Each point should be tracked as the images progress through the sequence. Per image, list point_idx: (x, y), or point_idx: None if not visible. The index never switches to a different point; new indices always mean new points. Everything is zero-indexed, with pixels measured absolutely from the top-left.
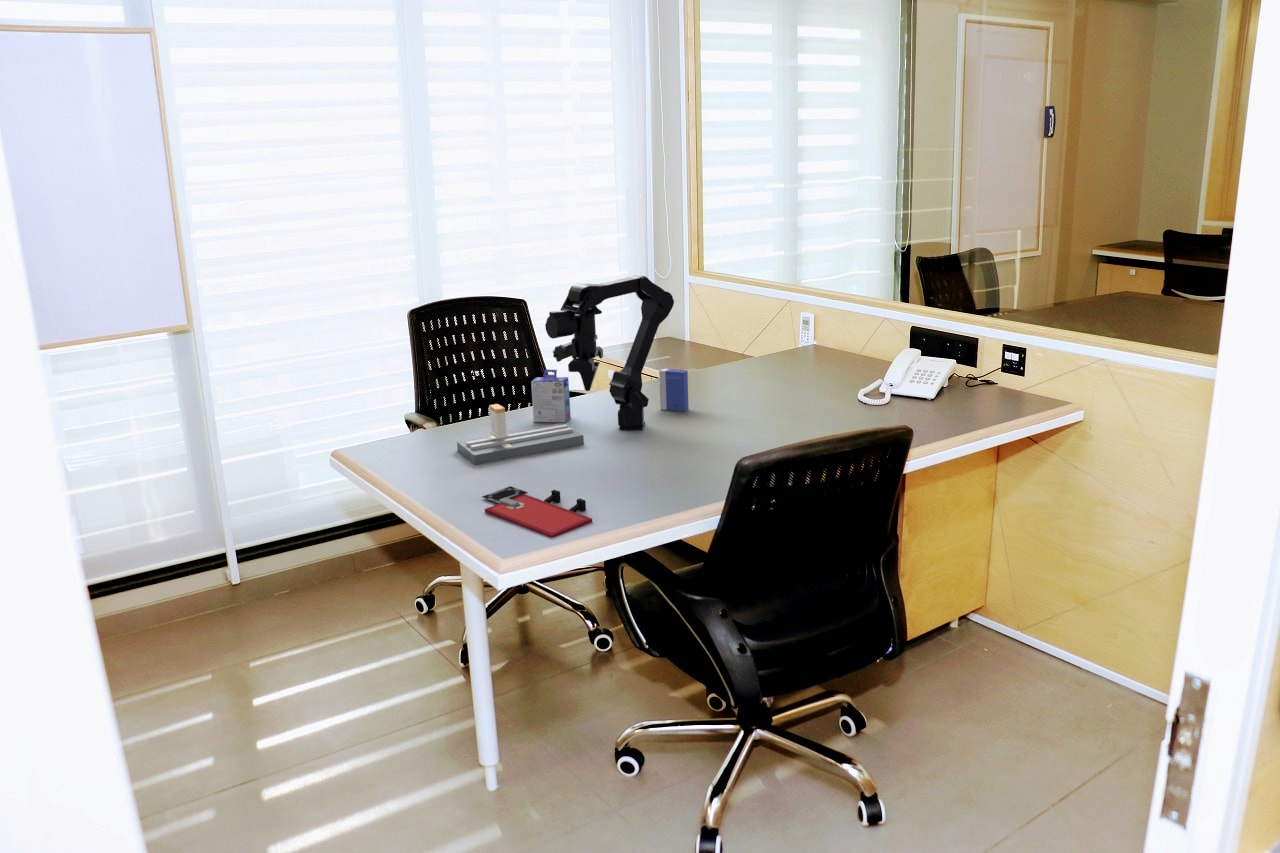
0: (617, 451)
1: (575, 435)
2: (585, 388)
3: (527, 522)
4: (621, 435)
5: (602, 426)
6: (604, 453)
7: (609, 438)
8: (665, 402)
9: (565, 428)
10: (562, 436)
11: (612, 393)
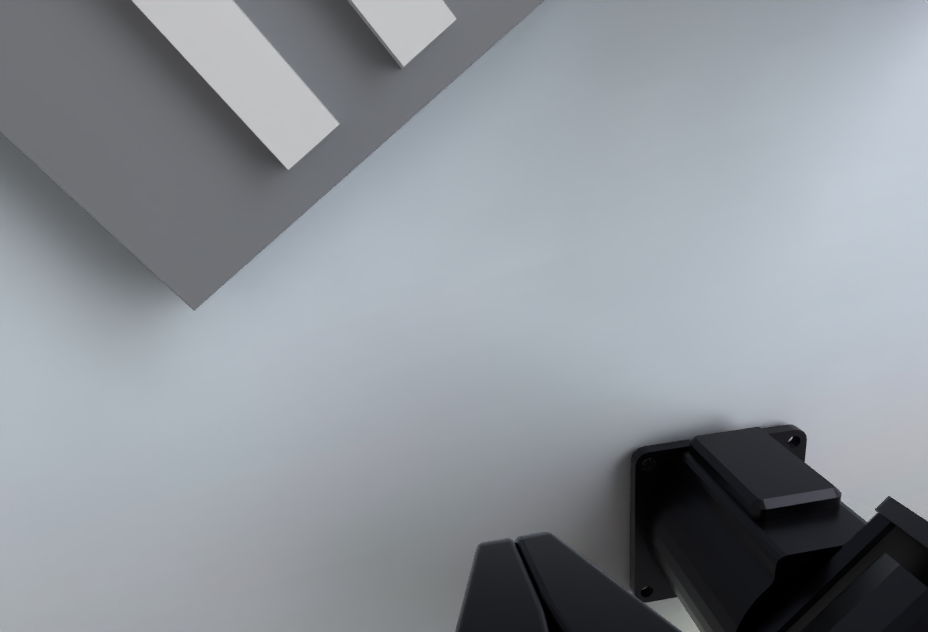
0: (92, 589)
1: (166, 232)
2: (467, 592)
3: None
4: (502, 498)
5: (737, 292)
6: (10, 518)
7: (416, 438)
8: None
9: (294, 72)
10: (93, 94)
11: (887, 620)
